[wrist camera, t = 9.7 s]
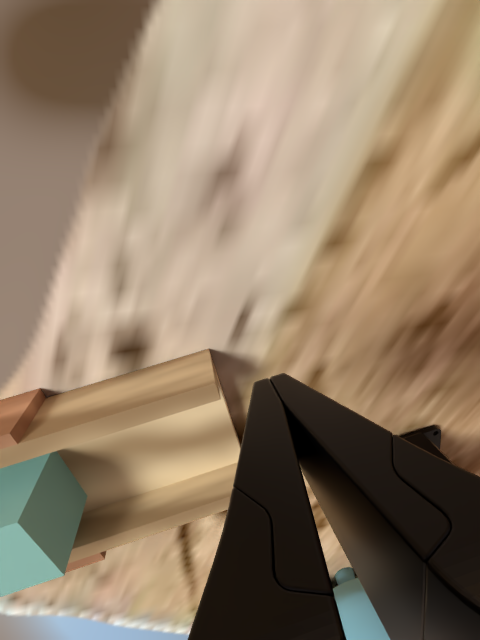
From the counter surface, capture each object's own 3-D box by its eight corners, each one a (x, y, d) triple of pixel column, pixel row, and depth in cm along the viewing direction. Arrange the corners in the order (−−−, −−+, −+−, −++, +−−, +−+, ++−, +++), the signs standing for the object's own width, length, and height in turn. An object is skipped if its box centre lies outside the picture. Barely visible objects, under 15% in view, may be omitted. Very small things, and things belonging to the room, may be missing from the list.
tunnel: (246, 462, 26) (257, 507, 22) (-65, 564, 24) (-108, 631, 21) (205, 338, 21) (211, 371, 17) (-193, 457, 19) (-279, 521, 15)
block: (87, 496, 22) (64, 575, 18) (17, 518, 22) (-25, 605, 17) (53, 446, 20) (17, 522, 16) (-25, 471, 20) (-86, 555, 15)
